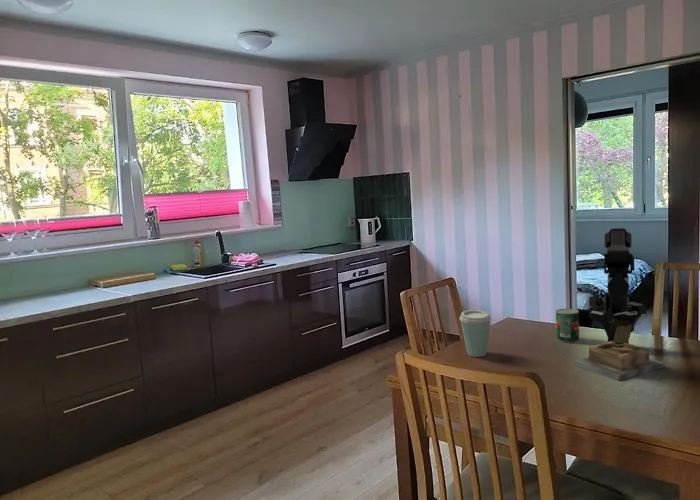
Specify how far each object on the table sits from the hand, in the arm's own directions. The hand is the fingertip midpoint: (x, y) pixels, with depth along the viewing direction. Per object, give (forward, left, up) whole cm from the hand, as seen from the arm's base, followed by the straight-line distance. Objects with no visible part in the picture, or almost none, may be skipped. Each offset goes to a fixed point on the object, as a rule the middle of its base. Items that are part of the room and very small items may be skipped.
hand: (618, 338), depth 167 cm
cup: (0, 0, -3) cm, 3 cm away
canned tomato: (-9, -29, -9) cm, 32 cm away
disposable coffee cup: (+28, -35, -9) cm, 46 cm away
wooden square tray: (0, 0, -9) cm, 9 cm away
